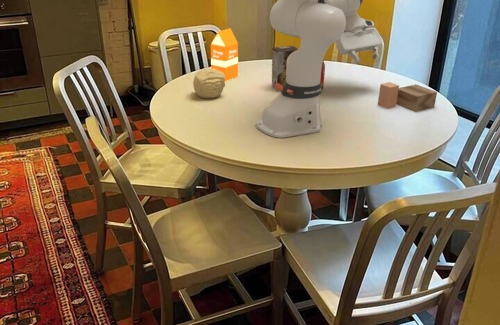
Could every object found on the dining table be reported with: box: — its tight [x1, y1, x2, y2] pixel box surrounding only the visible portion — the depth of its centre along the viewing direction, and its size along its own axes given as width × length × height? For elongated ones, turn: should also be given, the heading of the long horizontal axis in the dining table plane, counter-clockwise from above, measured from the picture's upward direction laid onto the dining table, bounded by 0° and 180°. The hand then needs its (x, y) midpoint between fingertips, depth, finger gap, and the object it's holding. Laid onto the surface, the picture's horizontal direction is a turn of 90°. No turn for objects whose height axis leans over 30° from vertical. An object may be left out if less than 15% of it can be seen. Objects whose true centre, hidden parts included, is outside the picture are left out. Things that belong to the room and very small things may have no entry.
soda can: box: [320, 59, 326, 91], centre depth 189 cm, size 7×7×12 cm
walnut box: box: [396, 84, 438, 113], centre depth 176 cm, size 10×10×6 cm
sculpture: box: [192, 68, 226, 99], centre depth 182 cm, size 11×12×11 cm
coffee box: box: [271, 45, 299, 92], centre depth 190 cm, size 9×6×16 cm
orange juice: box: [210, 28, 239, 82], centre depth 201 cm, size 8×9×20 cm
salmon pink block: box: [377, 81, 400, 110], centre depth 174 cm, size 5×5×8 cm
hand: (367, 60), depth 178 cm, fingers open, 8 cm apart
